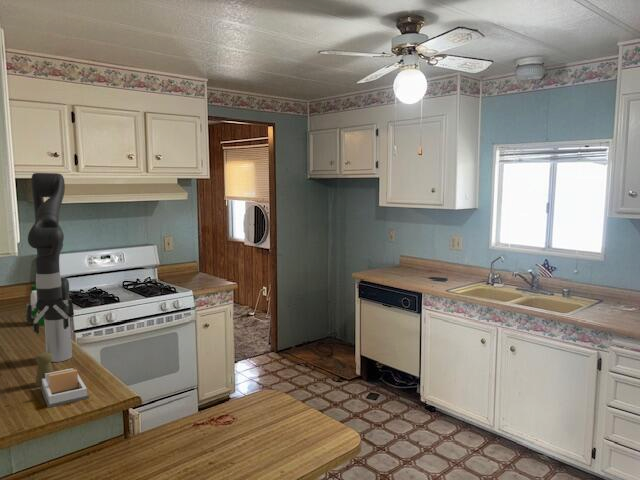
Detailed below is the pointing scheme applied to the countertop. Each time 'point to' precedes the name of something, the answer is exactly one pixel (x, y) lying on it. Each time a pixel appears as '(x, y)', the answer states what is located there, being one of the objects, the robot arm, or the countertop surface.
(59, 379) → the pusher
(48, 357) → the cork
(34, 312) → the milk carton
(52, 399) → the white walled tray
